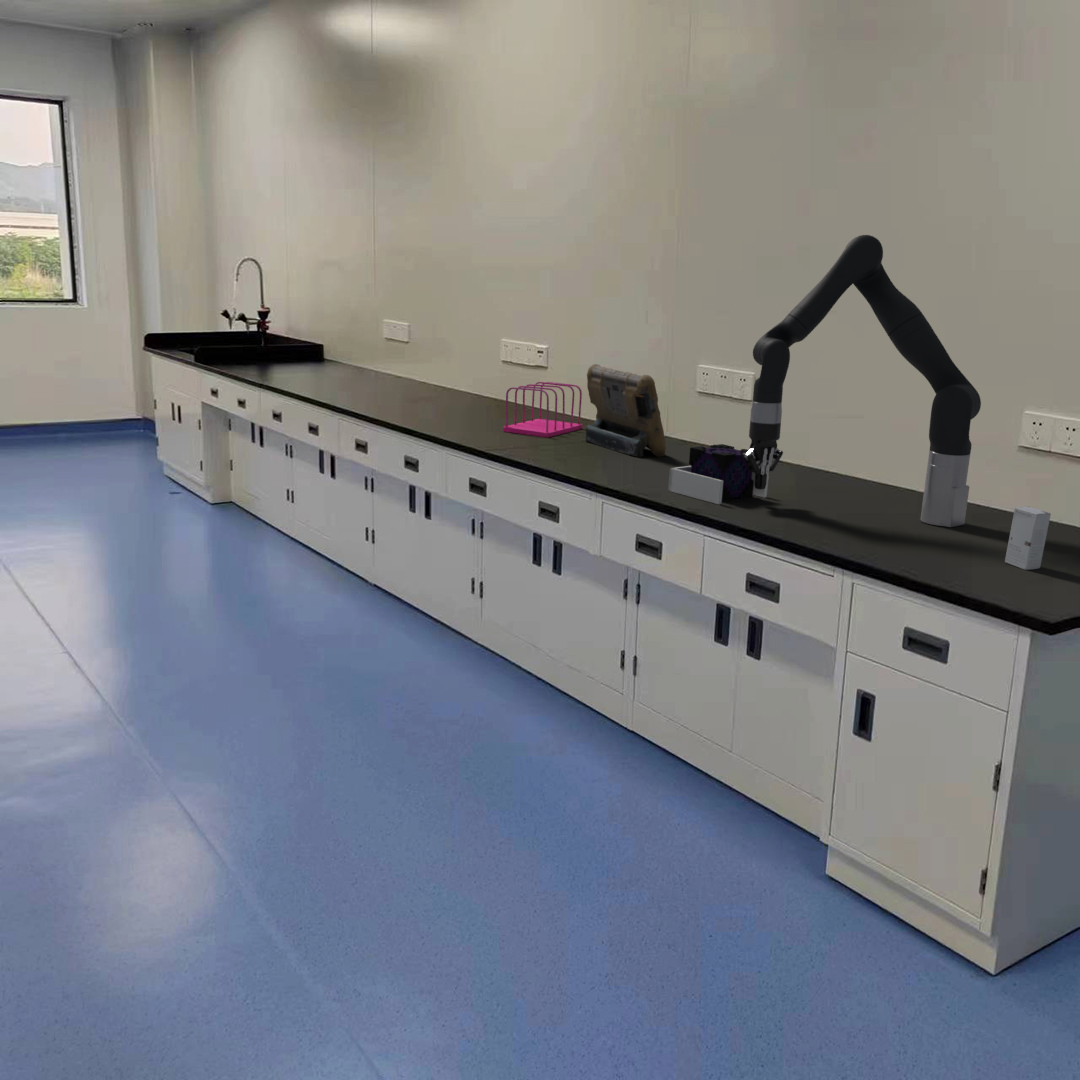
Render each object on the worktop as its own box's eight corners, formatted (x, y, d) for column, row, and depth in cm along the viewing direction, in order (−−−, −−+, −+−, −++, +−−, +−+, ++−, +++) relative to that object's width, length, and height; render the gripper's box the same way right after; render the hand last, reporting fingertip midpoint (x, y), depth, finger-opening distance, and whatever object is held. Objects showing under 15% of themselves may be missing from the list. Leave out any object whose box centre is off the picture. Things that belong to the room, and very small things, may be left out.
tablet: (674, 455, 344) (680, 374, 337) (639, 459, 336) (645, 375, 329) (608, 438, 369) (613, 362, 363) (575, 441, 361) (578, 363, 355)
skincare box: (1003, 562, 236) (1012, 506, 233) (1019, 561, 238) (1028, 505, 235) (1026, 570, 231) (1035, 513, 228) (1042, 568, 233) (1051, 512, 230)
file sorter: (502, 432, 374) (503, 385, 370) (538, 423, 395) (540, 379, 391) (547, 438, 366) (550, 390, 362) (582, 429, 387) (584, 383, 383)
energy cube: (720, 502, 283) (724, 455, 280) (686, 492, 292) (690, 447, 289) (752, 497, 290) (756, 451, 287) (718, 488, 299) (722, 444, 296)
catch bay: (766, 497, 290) (768, 474, 289) (718, 504, 279) (720, 481, 278) (715, 484, 304) (717, 462, 302) (668, 490, 293) (669, 468, 291)
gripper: (759, 423, 269) (753, 494, 273) (795, 420, 277) (789, 488, 281) (735, 419, 275) (730, 488, 279) (771, 416, 283) (766, 483, 287)
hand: (760, 488), depth 280 cm, fingers closed
